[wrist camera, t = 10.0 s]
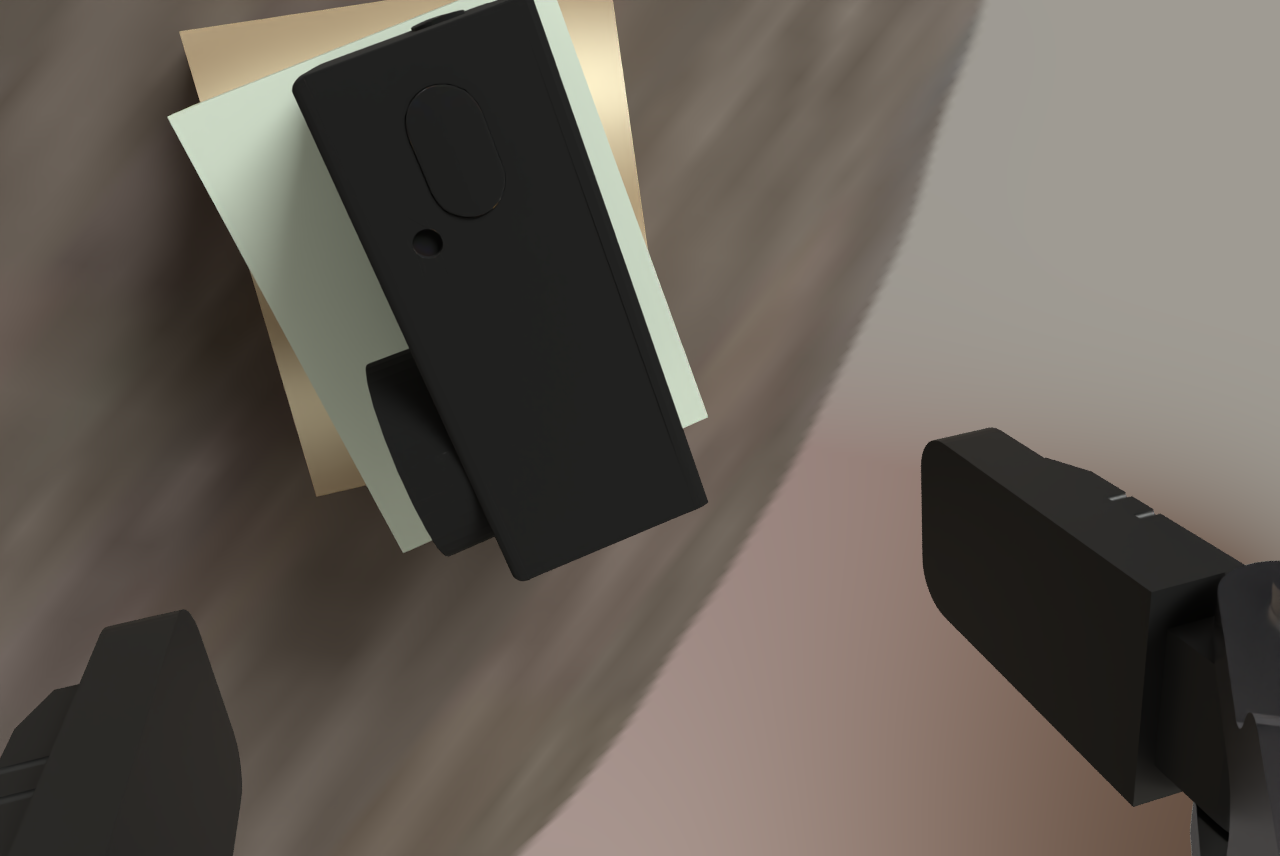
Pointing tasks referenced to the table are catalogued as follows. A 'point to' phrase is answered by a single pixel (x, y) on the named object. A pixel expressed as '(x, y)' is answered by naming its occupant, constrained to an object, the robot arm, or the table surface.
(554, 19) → the block top
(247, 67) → the block bottom
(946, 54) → the table surface
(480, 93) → the digital camera
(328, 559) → the table surface
